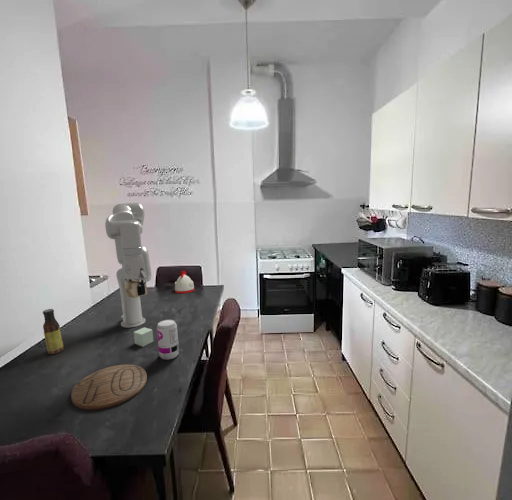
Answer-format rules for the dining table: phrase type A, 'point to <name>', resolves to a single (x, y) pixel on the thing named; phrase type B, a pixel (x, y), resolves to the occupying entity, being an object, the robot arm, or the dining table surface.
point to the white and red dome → (184, 284)
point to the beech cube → (133, 289)
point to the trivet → (109, 387)
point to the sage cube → (143, 336)
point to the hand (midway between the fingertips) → (136, 293)
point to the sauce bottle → (52, 332)
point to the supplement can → (167, 339)
